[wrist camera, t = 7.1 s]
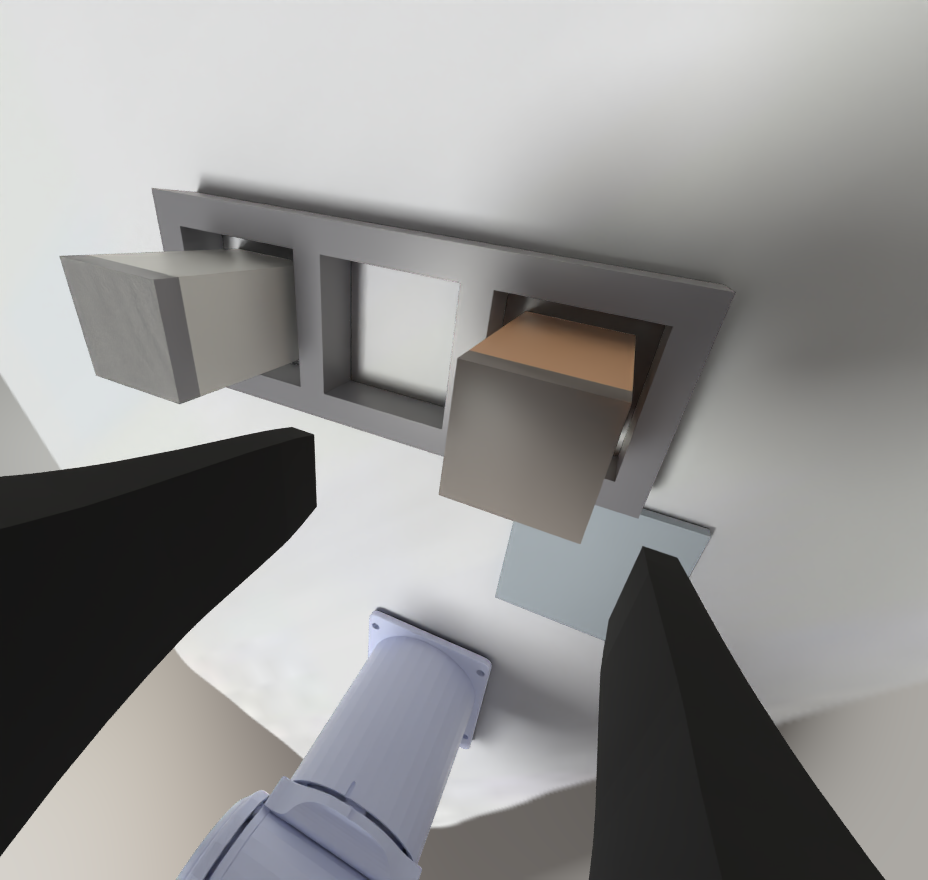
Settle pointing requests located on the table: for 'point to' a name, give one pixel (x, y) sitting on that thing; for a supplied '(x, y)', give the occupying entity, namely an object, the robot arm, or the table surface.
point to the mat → (589, 565)
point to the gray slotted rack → (477, 317)
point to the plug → (538, 421)
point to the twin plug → (184, 317)
